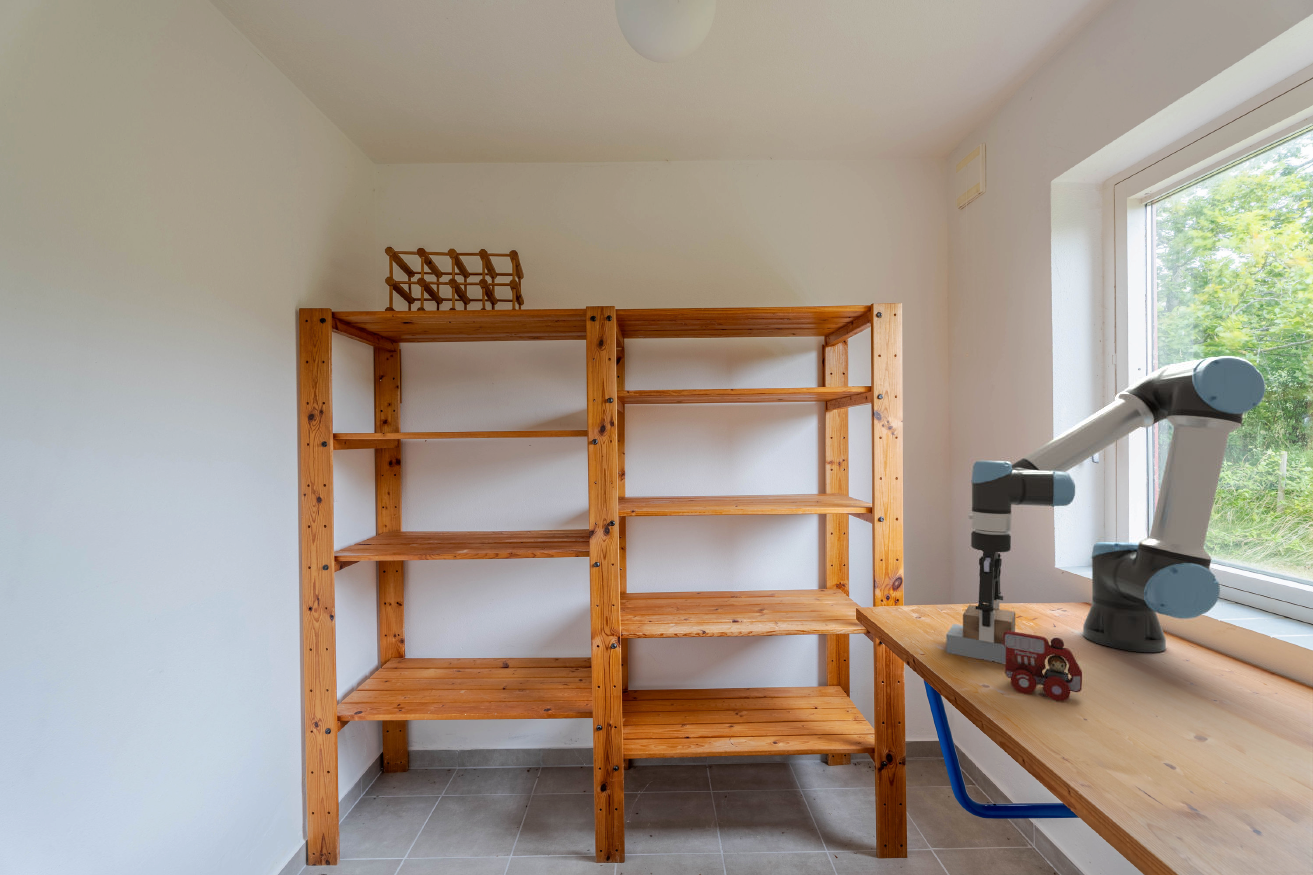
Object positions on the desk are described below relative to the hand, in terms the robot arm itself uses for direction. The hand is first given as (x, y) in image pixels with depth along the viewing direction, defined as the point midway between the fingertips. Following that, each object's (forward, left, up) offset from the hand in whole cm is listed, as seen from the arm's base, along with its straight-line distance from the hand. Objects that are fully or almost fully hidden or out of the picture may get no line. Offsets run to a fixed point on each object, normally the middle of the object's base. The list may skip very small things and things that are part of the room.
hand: (989, 634), depth 129 cm
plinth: (0, 0, -4) cm, 4 cm away
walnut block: (0, 0, 0) cm, 0 cm away
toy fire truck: (-10, +16, -5) cm, 19 cm away
